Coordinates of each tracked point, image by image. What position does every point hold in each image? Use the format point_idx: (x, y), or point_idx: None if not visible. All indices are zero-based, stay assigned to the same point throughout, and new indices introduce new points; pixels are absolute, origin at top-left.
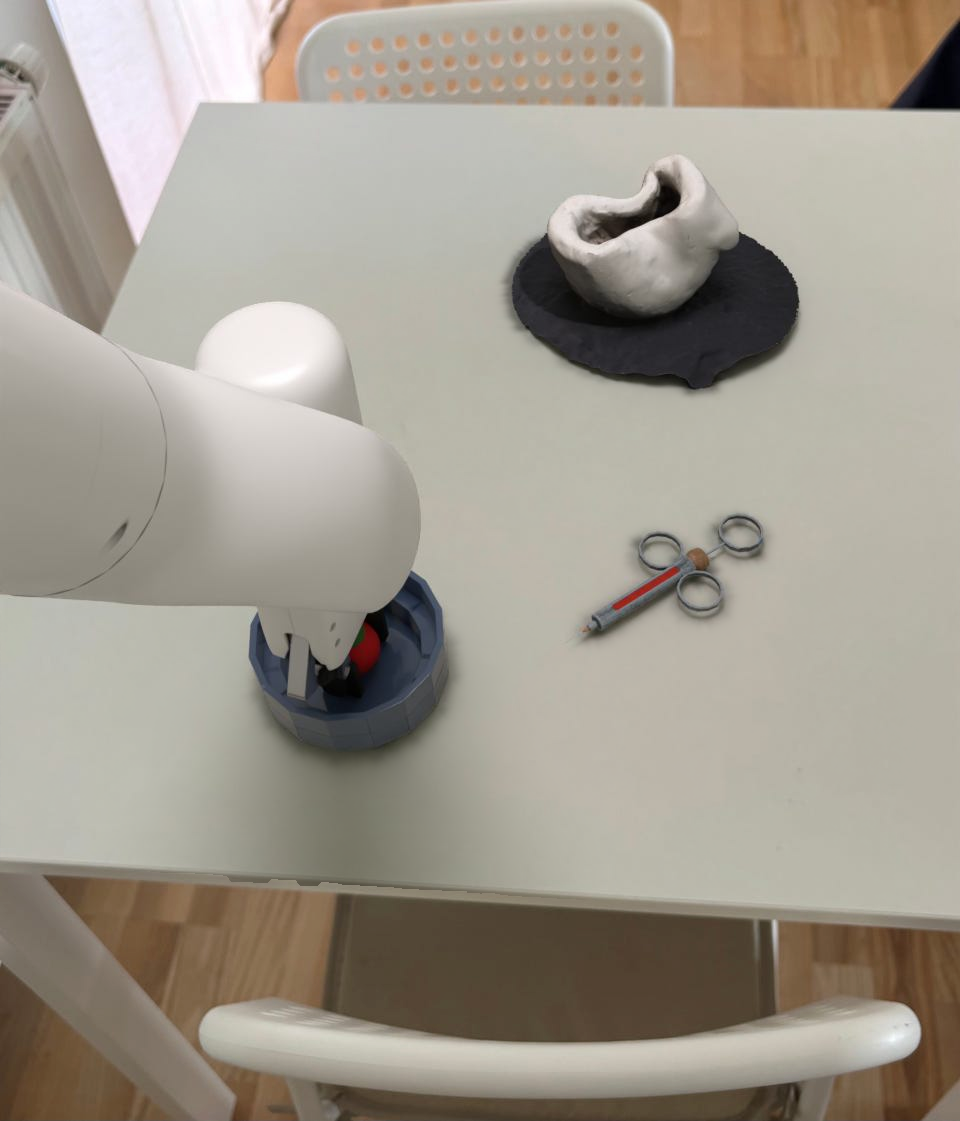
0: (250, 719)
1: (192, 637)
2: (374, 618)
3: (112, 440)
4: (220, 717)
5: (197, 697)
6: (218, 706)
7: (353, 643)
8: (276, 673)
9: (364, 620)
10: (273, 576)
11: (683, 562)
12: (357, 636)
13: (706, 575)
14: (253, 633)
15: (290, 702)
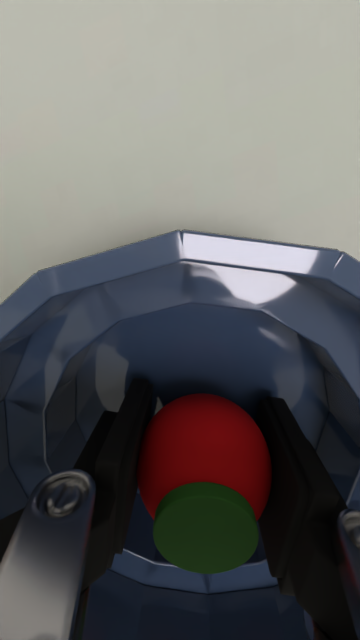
0: (56, 247)
1: (223, 12)
2: (269, 547)
3: None
4: (41, 181)
5: (69, 104)
6: (63, 166)
7: (168, 558)
8: (101, 316)
9: (269, 501)
10: None
11: None
12: (192, 563)
13: None
14: (138, 258)
15: None
